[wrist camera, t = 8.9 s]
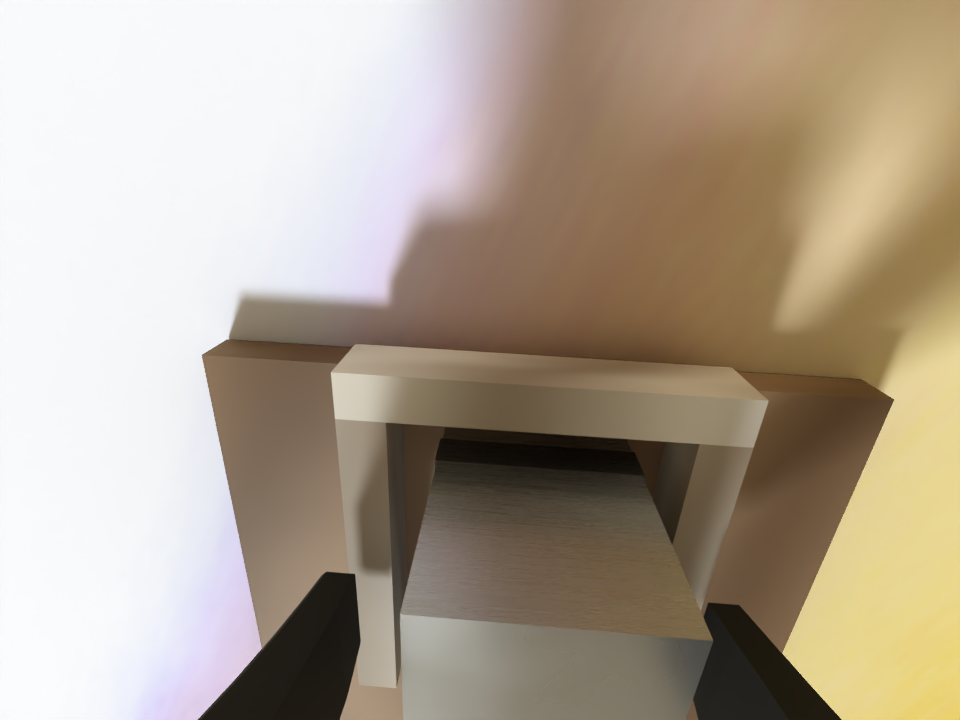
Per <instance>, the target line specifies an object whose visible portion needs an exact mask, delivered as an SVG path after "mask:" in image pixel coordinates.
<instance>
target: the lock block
mask: <svg viewBox="0 0 960 720" xmlns="http://www.w3.org/2000/svg"><path fill="white" fill-rule="evenodd" d="M644 477H645V475H644V473H643V470H642V468H641V466H640V464H639V461H638V459H637V457H636V454H635V452H632V451H631V448H630V446H629V444H628V441H627V439H618V438H604V437H589V436H574V435H560V434H545V433H531V432H516V431H502V430H487V429H472V428H458V427H445V431H444V435H443V438H440V442H439V446H438V450H437V454H436V457H435V472H434V476H433V480H432V484H431V488H430V493H429V497H428V501H427V505H426V509H425V513H424V517H423V521H422V525H421V529H420V534H419V538H418V542H417V546H416V550H415V554H414V558H413V562H412V566H411V570H410V575H409V579H408V583H407V587H406V591H405V595H404V599H403V603H402V607H401V612H400V636H401V669H402V701H403V720H686V717H687V714H688V711H689V709H690V706H691V703H692V700H693V697H694V694H695V692H696V689H697V686H698V683H699V680H700V677H701V675H702V672H703V669H704V666H705V663H706V660H707V658H708V655H709V652H710V649H711V646H712V644H713V639H712V636H711V634H710V632H709V629H708V627H707V625H706V622H705V620H704V618H703V615H702V613H701V611H700V609H699V606H698V604H697V602H696V599H695V597H694V595H693V592H692V590H691V588H690V585H689V583H688V581H687V578H686V576H685V574H684V571H683V569H682V567H681V564H680V562H679V560H678V557H677V555H676V553H675V550H674V548H673V546H672V543H671V541H670V539H669V537H668V534H667V532H666V530H665V527H664V525H663V523H662V520H661V518H660V516H659V513H658V511H657V509H656V506H655V504H654V502H653V499H652V497H651V495H650V492H649V490H648V488H647V485H646V483H645V481H644Z"/></svg>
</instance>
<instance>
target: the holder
mask: <svg viewBox="0 0 960 720" xmlns="http://www.w3.org/2000/svg"><path fill="white" fill-rule="evenodd" d="M202 358H203V363H204V368H205V373H206V378H207V382H208V387H209V392H210V397H211V402H212V407H213V412H214V417H215V421H216V426H217V431H218V436H219V441H220V446H221V451H222V455H223V460H224V465H225V470H226V475H227V480H228V485H229V490H230V494H231V499H232V504H233V509H234V514H235V519H236V524H237V529H238V533H239V538H240V543H241V548H242V553H243V558H244V563H245V568H246V572H247V577H248V582H249V587H250V592H251V597H252V602H253V607H254V611H255V616H256V621H257V626H258V631H259V636H260V641H261V646H262V648H263V647H264V646H265V645H266V644H267V642H268V641H269V640H270V639H271V638H272V637H273V635H274V634H275V633H276V632H277V631H278V629H279V628H280V627H281V626H282V625H283V623H284V622H285V621H286V620H287V618H288V617H289V616H290V615H291V614H292V612H293V611H294V610H295V609H296V607H297V606H298V605H299V604H300V602H301V601H302V600H303V599H304V597H305V596H306V595H307V593H308V592H309V591H310V590H311V588H312V587H313V586H314V584H315V583H316V582H317V581H318V579H319V578H320V577H321V575H323V574H324V573H325V572H338V573H350V574H355V577H356V589H357V601H358V613H359V626H360V638H361V643H360V647H359V652H358V656H357V660H356V664H355V668H354V672H353V676H352V680H351V684H350V688H349V692H348V696H347V699H346V702H345V705H344V708H343V711H342V714H341V717H340V720H403V701H402V669H401V636H400V612H401V607H402V603H403V599H404V595H405V591H406V587H407V583H408V579H409V575H410V570H411V566H412V562H413V558H414V554H415V550H416V546H417V542H418V538H419V534H420V529H421V525H422V521H423V517H424V513H425V509H426V505H427V501H428V497H429V493H430V488H431V484H432V480H433V476H434V472H435V457H436V454H437V450H438V446H439V442H440V438H443V435H444V431H445V427H458V428H472V429H487V430H502V431H516V432H531V433H545V434H560V435H574V436H589V437H604V438H618V439H627V441H628V444H629V446H630V448H631V451H632V452H635V454H636V457H637V459H638V461H639V464H640V466H641V468H642V470H643V473H644V475H645V477H644V481H645V483H646V485H647V488H648V490H649V492H650V495H651V497H652V499H653V502H654V504H655V506H656V509H657V511H658V513H659V516H660V518H661V520H662V523H663V525H664V527H665V530H666V532H667V534H668V537H669V539H670V541H671V543H672V546H673V548H674V550H675V553H676V555H677V557H678V560H679V562H680V564H681V567H682V569H683V571H684V574H685V576H686V578H687V581H688V583H689V585H690V588H691V590H692V592H693V595H694V597H695V599H696V602H697V604H698V606H699V609H700V611H701V613H702V615H703V617H704V614H705V611H706V608H707V605H708V602H709V603H721V604H734V605H740V606H741V608H742V609H743V610H744V611H745V612H746V613H747V614H748V615H749V616H750V618H751V619H752V620H753V621H754V622H755V623H756V624H757V626H758V627H759V628H760V629H761V630H762V631H763V632H764V634H765V635H766V636H767V637H768V638H769V639H770V640H771V642H772V643H773V644H774V645H775V646H776V647H777V648H778V650H779V651H780V652H781V653H782V652H783V650H784V648H785V645H786V643H787V641H788V639H789V636H790V634H791V632H792V629H793V627H794V625H795V623H796V620H797V618H798V616H799V614H800V611H801V609H802V607H803V605H804V602H805V600H806V598H807V596H808V593H809V591H810V589H811V586H812V584H813V582H814V580H815V577H816V575H817V573H818V571H819V568H820V566H821V564H822V562H823V559H824V557H825V555H826V553H827V550H828V548H829V546H830V544H831V541H832V539H833V537H834V534H835V532H836V530H837V528H838V525H839V523H840V521H841V519H842V516H843V514H844V512H845V510H846V507H847V505H848V503H849V501H850V498H851V496H852V494H853V491H854V489H855V487H856V485H857V482H858V480H859V478H860V476H861V473H862V471H863V469H864V467H865V464H866V462H867V460H868V458H869V455H870V453H871V451H872V449H873V446H874V444H875V442H876V439H877V437H878V435H879V433H880V430H881V428H882V426H883V424H884V421H885V419H886V417H887V415H888V412H889V410H890V408H891V406H892V403H893V401H894V399H892V398H891V397H889V396H887V395H886V394H884V393H883V392H881V391H879V390H878V389H876V388H874V387H873V386H871V385H869V384H868V383H866V382H864V381H863V380H861V379H846V378H830V377H814V376H798V375H782V374H766V373H750V372H736V371H735V370H734V369H733V368H732V367H718V366H702V365H686V364H670V363H654V362H638V361H622V360H606V359H590V358H574V357H558V356H542V355H526V354H510V353H494V352H478V351H462V350H446V349H430V348H414V347H398V346H382V345H366V344H355V345H354V346H353V347H337V346H321V345H305V344H289V343H273V342H257V341H241V340H226V341H224V342H222V343H221V344H219V345H217V346H216V347H214V348H213V349H211V350H209V351H208V352H206V353H204V354H203V355H202ZM686 720H698V716H697V713H696V709H695V705H694V701H693V700H692V703H691V706H690V709H689V711H688V714H687V717H686Z"/></svg>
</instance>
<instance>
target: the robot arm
mask: <svg viewBox="0 0 960 720" xmlns="http://www.w3.org/2000/svg"><path fill="white" fill-rule="evenodd" d="M703 618H704V620H705V622H706V625H707V627H708V629H709V632H710V634H711V636H712V639H713V644H712V646H711V649H710V652H709V655H708V658H707V660H706V663H705V666H704V669H703V672H702V675H701V677H700V680H699V683H698V686H697V689H696V692H695V694H694V697H693V701H694V705H695V709H696V713H697V716H698V720H841V719H840V717H839V716H838V715H837V714H836V713H835V712H834V711H833V710H832V709H831V708H830V707H829V705H828V704H827V703H826V702H825V701H824V700H823V699H822V698H821V697H820V696H819V694H818V693H817V692H816V691H815V690H814V689H813V688H812V687H811V686H810V685H809V683H808V682H807V681H806V680H805V679H804V678H803V677H802V676H801V674H800V673H799V672H798V671H797V670H796V669H795V668H794V667H793V665H792V664H791V663H790V662H789V661H788V660H787V659H786V657H785V656H784V655H783V654H782V653H781V652H780V651H779V650H778V648H777V647H776V646H775V645H774V644H773V643H772V642H771V640H770V639H769V638H768V637H767V636H766V635H765V634H764V632H763V631H762V630H761V629H760V628H759V627H758V626H757V624H756V623H755V622H754V621H753V620H752V619H751V618H750V616H749V615H748V614H747V613H746V612H745V611H744V610H743V609H742V608H741V606H740V605H734V604H721V603H709V602H708V605H707V608H706V611H705V614H704V617H703ZM360 643H361V638H360V626H359V613H358V601H357V589H356V577H355V574H350V573H338V572H325V573H324V574H323V575H321V577H320V578H319V579H318V581H317V582H316V583H315V584H314V586H313V587H312V588H311V590H310V591H309V592H308V593H307V595H306V596H305V597H304V599H303V600H302V601H301V602H300V604H299V605H298V606H297V607H296V609H295V610H294V611H293V612H292V614H291V615H290V616H289V617H288V618H287V620H286V621H285V622H284V623H283V625H282V626H281V627H280V628H279V629H278V631H277V632H276V633H275V634H274V635H273V637H272V638H271V639H270V640H269V641H268V642H267V644H266V645H265V646H264V647H263V648H262V649H261V651H260V652H259V653H258V654H257V655H256V656H255V657H254V659H253V660H252V661H251V662H250V663H249V664H248V666H247V667H246V668H245V669H244V670H243V671H242V672H241V674H240V675H239V676H238V677H237V678H236V679H235V680H234V681H233V683H232V684H231V685H230V686H229V687H228V688H227V689H226V690H225V691H224V692H223V693H222V694H221V695H220V696H219V698H218V699H217V700H216V701H215V702H214V703H213V704H212V705H211V706H210V707H209V708H208V709H207V710H206V711H205V713H204V714H203V715H202V716H201V717H200V718H199V719H198V720H340V717H341V714H342V711H343V708H344V705H345V702H346V699H347V696H348V692H349V688H350V684H351V680H352V676H353V672H354V668H355V664H356V660H357V656H358V652H359V647H360Z"/></svg>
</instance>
